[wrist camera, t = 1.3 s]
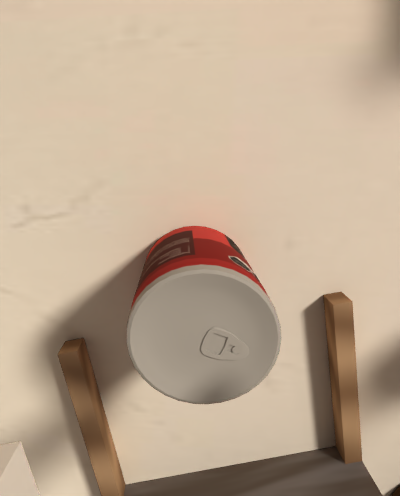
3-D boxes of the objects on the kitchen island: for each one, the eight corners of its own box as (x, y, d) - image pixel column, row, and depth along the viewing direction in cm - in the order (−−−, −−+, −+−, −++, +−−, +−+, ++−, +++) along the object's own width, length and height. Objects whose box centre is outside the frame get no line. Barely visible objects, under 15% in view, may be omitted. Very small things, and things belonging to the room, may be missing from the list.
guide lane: (65, 341, 30) (38, 387, 24) (341, 291, 30) (379, 325, 24) (114, 502, 34) (100, 574, 29) (352, 458, 35) (387, 520, 29)
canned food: (238, 318, 30) (270, 410, 20) (141, 311, 30) (120, 401, 19) (251, 228, 28) (295, 275, 18) (148, 218, 28) (129, 261, 17)
